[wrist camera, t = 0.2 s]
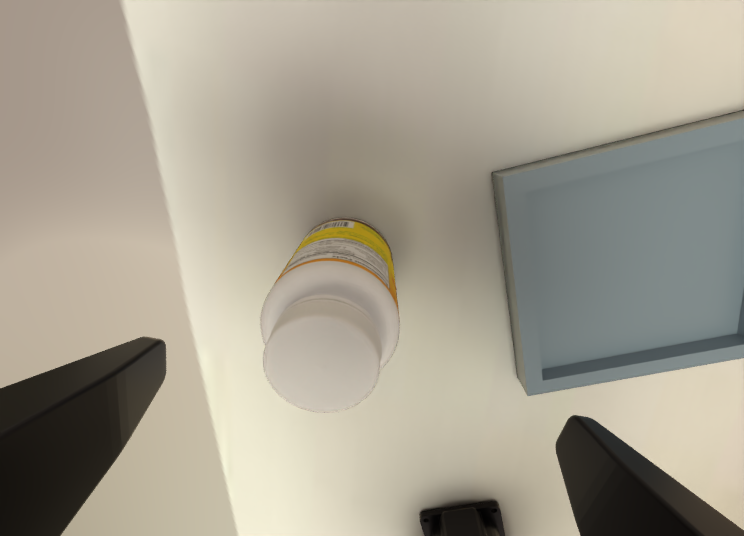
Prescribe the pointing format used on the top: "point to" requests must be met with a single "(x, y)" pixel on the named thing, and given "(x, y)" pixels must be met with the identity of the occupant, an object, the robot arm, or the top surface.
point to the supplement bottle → (331, 317)
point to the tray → (626, 256)
